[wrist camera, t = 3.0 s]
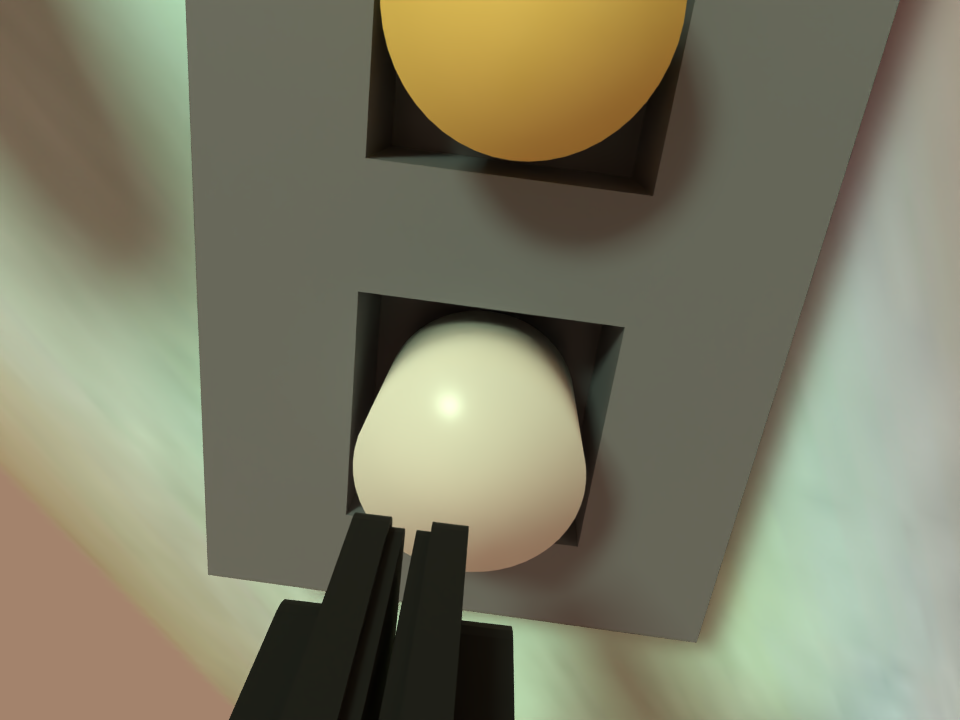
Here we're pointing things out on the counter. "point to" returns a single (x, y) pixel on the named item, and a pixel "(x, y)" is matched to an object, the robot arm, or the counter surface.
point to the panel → (511, 282)
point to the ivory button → (475, 439)
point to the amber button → (531, 68)
